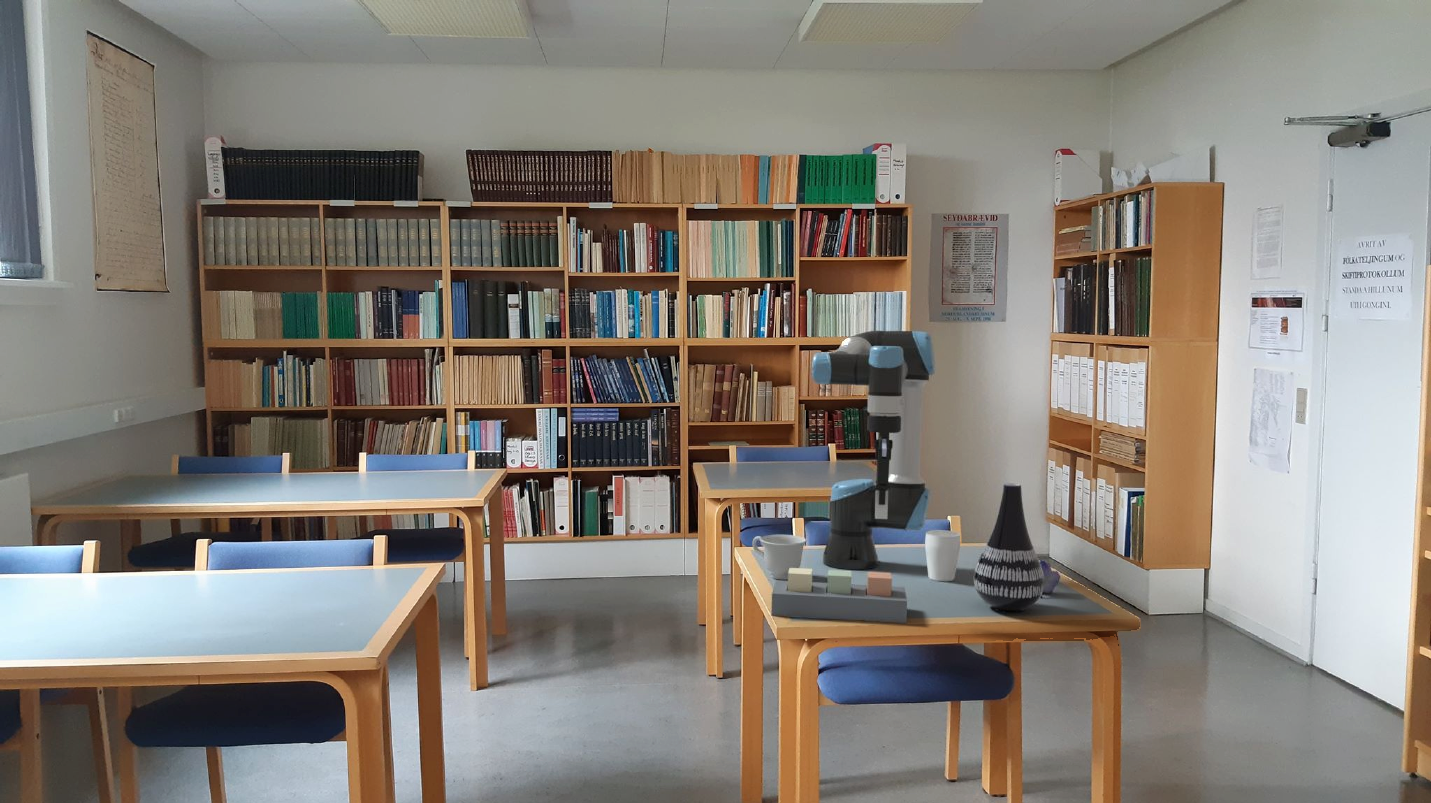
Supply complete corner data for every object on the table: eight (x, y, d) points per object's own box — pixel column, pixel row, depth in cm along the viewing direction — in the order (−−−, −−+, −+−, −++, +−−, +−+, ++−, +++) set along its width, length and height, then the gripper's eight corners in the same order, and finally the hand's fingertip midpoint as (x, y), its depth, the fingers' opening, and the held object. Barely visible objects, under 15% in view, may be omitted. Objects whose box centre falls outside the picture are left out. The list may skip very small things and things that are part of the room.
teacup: (762, 567, 266) (763, 531, 265) (813, 575, 259) (814, 537, 258) (741, 576, 256) (742, 539, 255) (793, 585, 248) (794, 546, 248)
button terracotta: (867, 605, 222) (867, 577, 221) (866, 599, 227) (867, 571, 227) (890, 607, 221) (891, 578, 221) (889, 600, 226) (890, 573, 226)
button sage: (827, 603, 223) (827, 575, 223) (827, 597, 228) (828, 569, 228) (850, 604, 222) (851, 576, 222) (850, 598, 228) (851, 570, 227)
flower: (1061, 575, 237) (1049, 549, 246) (1027, 587, 239) (1015, 560, 247) (1071, 601, 241) (1058, 574, 250) (1037, 613, 243) (1026, 586, 252)
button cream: (787, 601, 224) (788, 573, 224) (788, 595, 230) (789, 567, 229) (810, 602, 224) (811, 574, 223) (811, 596, 229) (812, 568, 228)
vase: (1033, 622, 220) (1038, 492, 217) (963, 611, 228) (968, 485, 226) (1050, 606, 233) (1055, 483, 231) (984, 595, 241) (988, 477, 239)
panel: (771, 615, 222) (771, 593, 221) (775, 600, 233) (776, 580, 233) (906, 623, 218) (907, 601, 217) (903, 608, 229) (904, 587, 229)
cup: (962, 576, 260) (963, 532, 259) (955, 584, 252) (956, 538, 251) (928, 572, 264) (929, 528, 263) (920, 580, 256) (921, 534, 255)
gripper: (902, 417, 214) (899, 524, 215) (900, 412, 227) (896, 514, 228) (868, 416, 215) (864, 522, 216) (867, 411, 228) (864, 512, 229)
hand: (881, 518), depth 222 cm, fingers closed
